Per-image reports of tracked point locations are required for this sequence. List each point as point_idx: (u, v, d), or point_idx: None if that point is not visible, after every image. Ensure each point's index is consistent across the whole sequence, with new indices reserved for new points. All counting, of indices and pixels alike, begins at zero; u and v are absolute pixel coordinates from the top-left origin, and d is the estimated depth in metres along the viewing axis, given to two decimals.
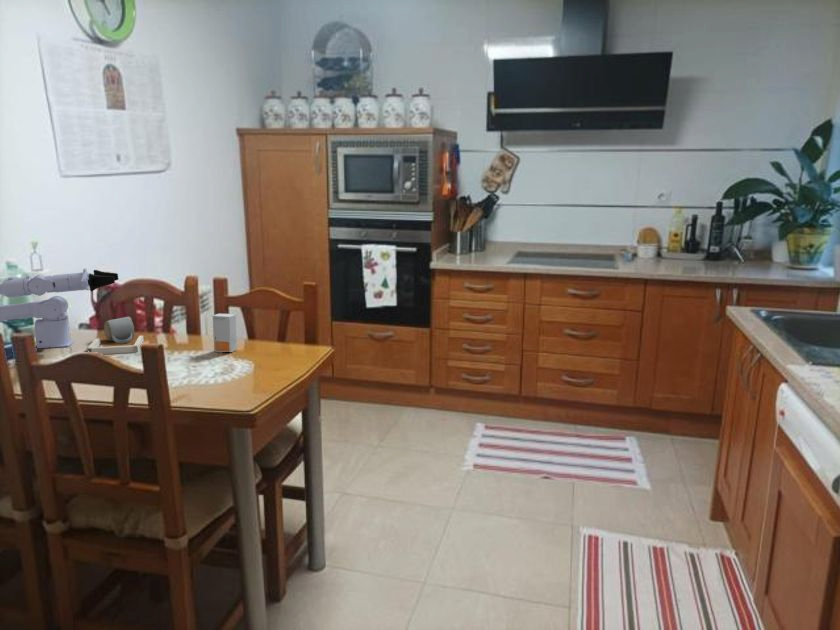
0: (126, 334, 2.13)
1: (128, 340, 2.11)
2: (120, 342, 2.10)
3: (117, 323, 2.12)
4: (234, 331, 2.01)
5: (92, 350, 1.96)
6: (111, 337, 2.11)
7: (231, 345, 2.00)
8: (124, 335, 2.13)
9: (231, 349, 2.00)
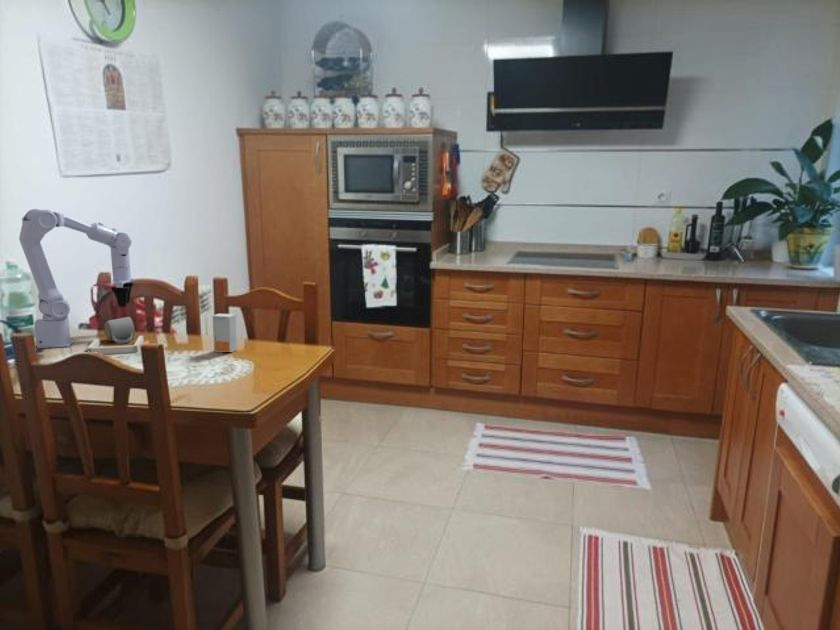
0: (126, 334, 2.13)
1: (128, 340, 2.11)
2: (121, 342, 2.10)
3: (117, 323, 2.12)
4: (234, 331, 2.01)
5: (92, 350, 1.96)
6: (111, 337, 2.11)
7: (231, 345, 2.00)
8: (124, 335, 2.13)
9: (231, 349, 2.00)
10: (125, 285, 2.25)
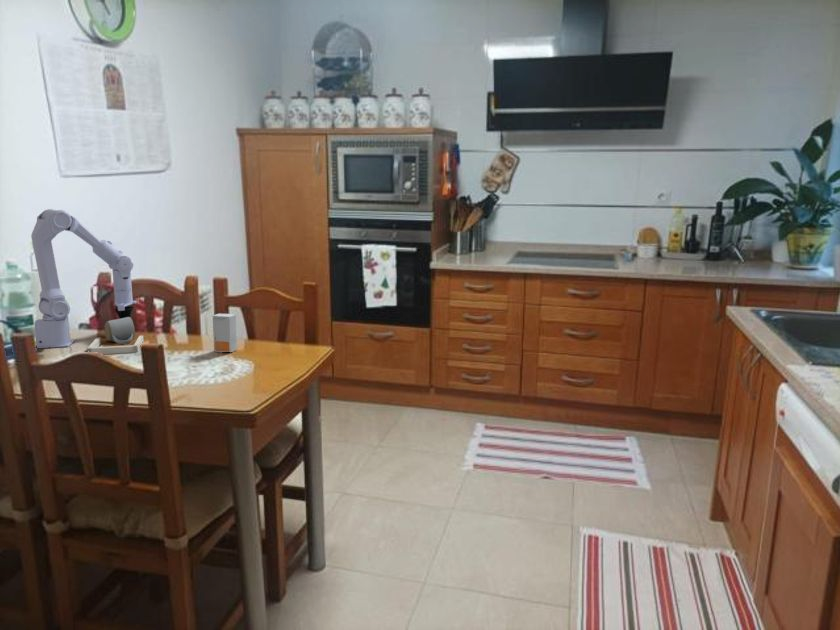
0: (126, 334, 2.13)
1: (128, 340, 2.11)
2: (121, 342, 2.09)
3: (117, 323, 2.11)
4: (234, 331, 2.01)
5: (92, 350, 1.96)
6: (111, 337, 2.10)
7: (231, 345, 2.00)
8: (124, 335, 2.13)
9: (231, 349, 2.00)
10: None
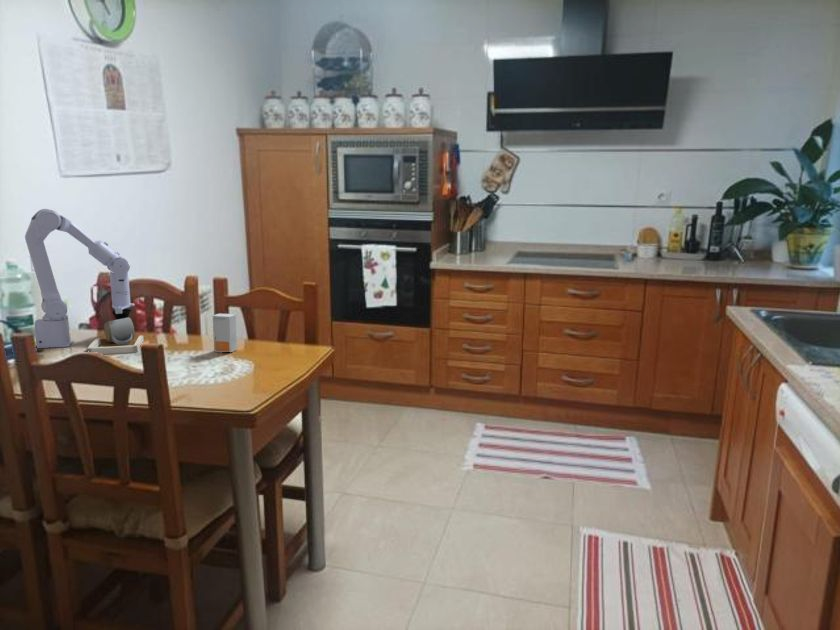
0: (126, 335, 2.11)
1: (128, 341, 2.09)
2: (120, 343, 2.08)
3: (117, 323, 2.10)
4: (234, 331, 2.01)
5: (92, 350, 1.96)
6: (111, 338, 2.09)
7: (231, 345, 2.00)
8: (124, 336, 2.11)
9: (231, 349, 2.00)
10: None
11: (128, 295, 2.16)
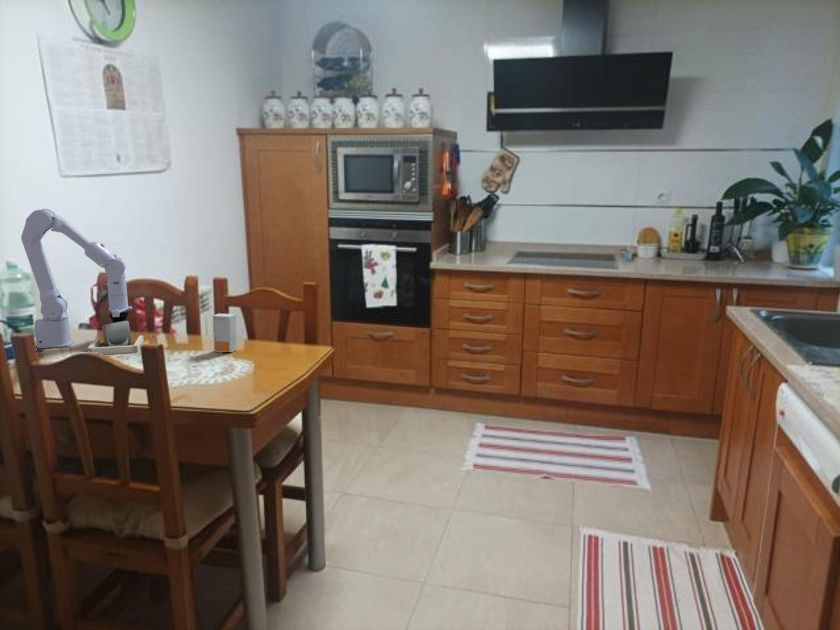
0: (122, 339, 2.06)
1: (122, 345, 2.04)
2: None
3: (113, 327, 2.05)
4: (234, 331, 2.01)
5: (92, 350, 1.96)
6: (106, 341, 2.04)
7: (231, 345, 2.00)
8: (120, 340, 2.06)
9: (231, 349, 2.00)
10: None
11: (125, 298, 2.11)
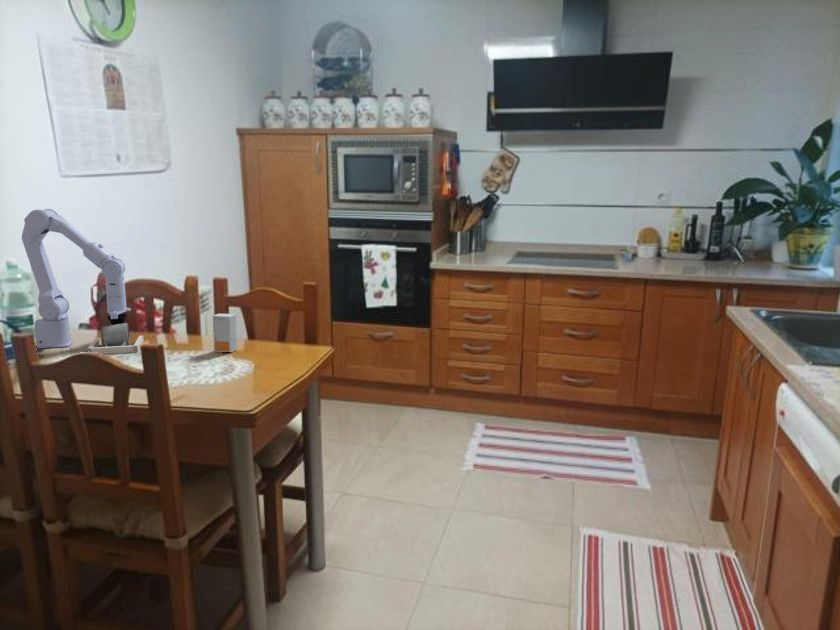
0: (120, 342, 2.03)
1: None
2: None
3: (111, 329, 2.02)
4: (234, 331, 2.01)
5: (92, 350, 1.96)
6: (104, 344, 2.02)
7: (231, 345, 2.00)
8: (118, 342, 2.03)
9: (231, 349, 2.00)
10: None
11: (124, 299, 2.08)
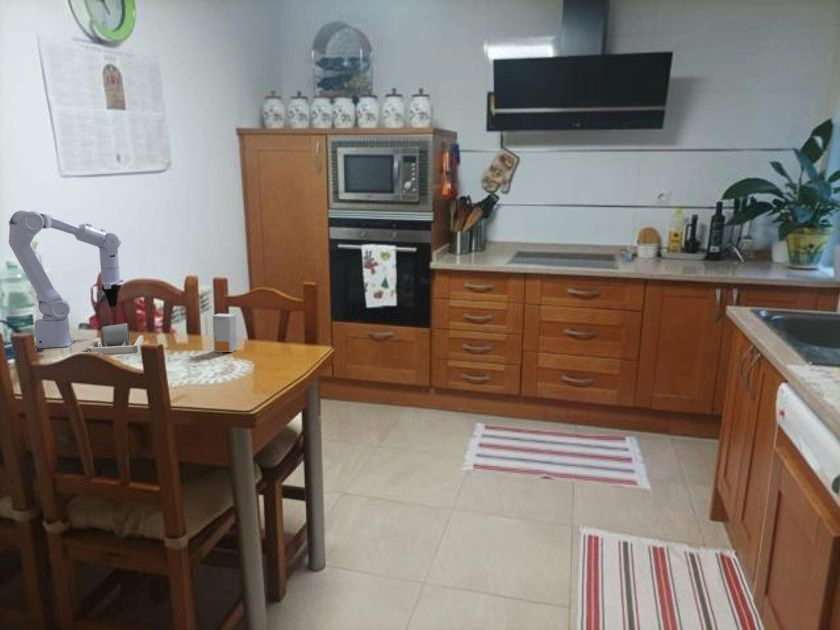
0: (119, 342, 2.03)
1: None
2: None
3: (110, 329, 2.02)
4: (234, 331, 2.01)
5: (92, 350, 1.96)
6: (104, 344, 2.01)
7: (231, 345, 2.00)
8: (117, 343, 2.02)
9: (231, 349, 2.00)
10: None
11: (117, 271, 2.17)
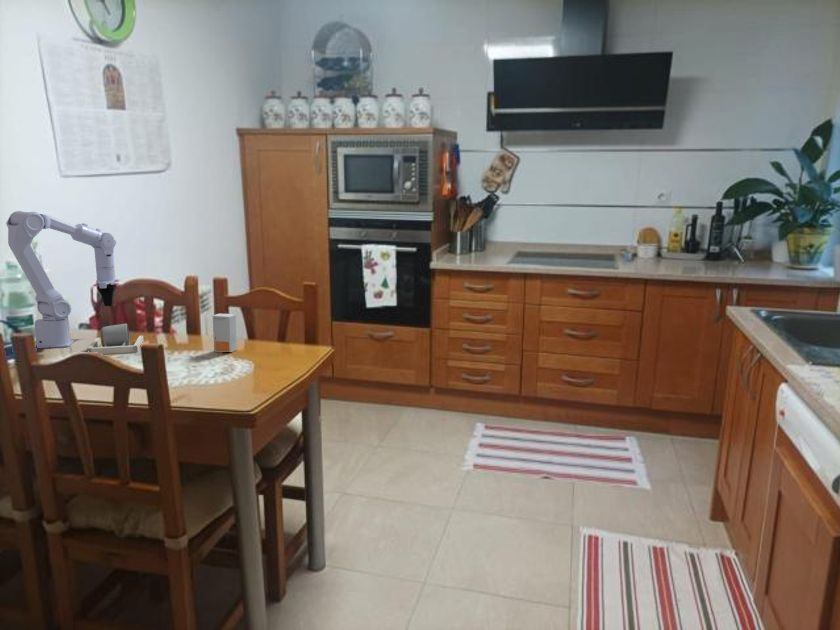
0: (119, 342, 2.02)
1: None
2: None
3: (110, 330, 2.02)
4: (234, 331, 2.01)
5: (92, 350, 1.96)
6: (104, 344, 2.01)
7: (231, 345, 2.00)
8: (117, 343, 2.02)
9: (231, 349, 2.00)
10: None
11: (113, 270, 2.18)
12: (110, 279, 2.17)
